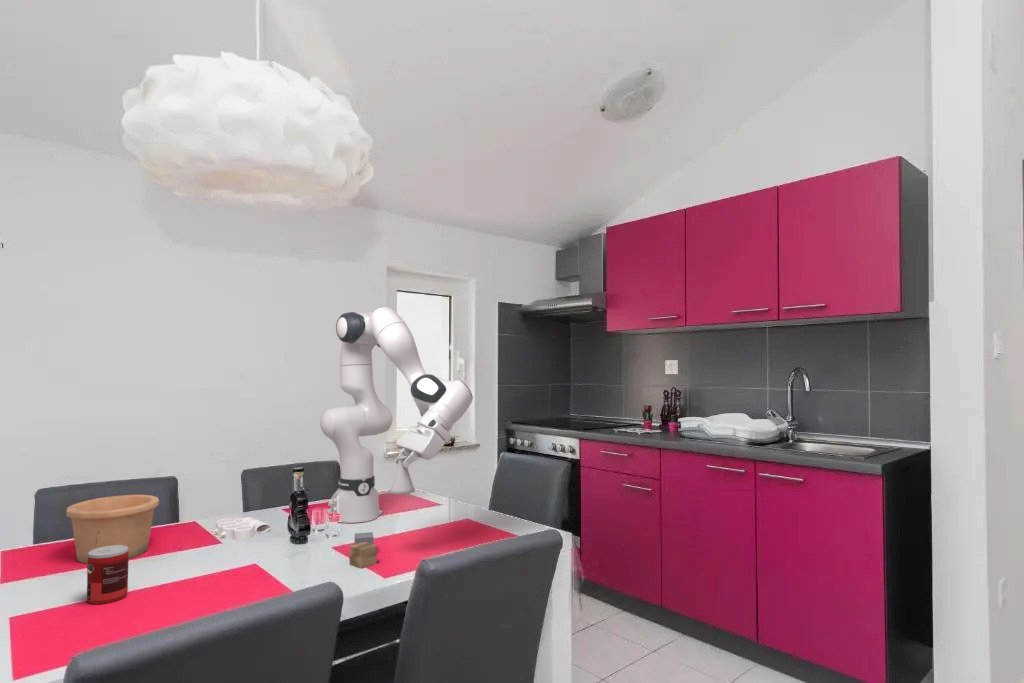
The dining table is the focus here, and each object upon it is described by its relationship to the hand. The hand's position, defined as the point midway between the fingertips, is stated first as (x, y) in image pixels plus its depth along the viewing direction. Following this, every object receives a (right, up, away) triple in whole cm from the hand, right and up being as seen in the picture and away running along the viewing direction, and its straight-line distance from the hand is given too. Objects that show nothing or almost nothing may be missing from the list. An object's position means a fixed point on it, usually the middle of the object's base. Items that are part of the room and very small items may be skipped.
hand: (400, 464), depth 168 cm
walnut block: (-8, -25, -9) cm, 28 cm away
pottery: (-81, -26, +1) cm, 85 cm away
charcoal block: (-11, -25, +1) cm, 27 cm away
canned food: (-62, -24, -31) cm, 73 cm away
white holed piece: (-55, -27, +21) cm, 65 cm away
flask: (+1, -8, 0) cm, 8 cm away
